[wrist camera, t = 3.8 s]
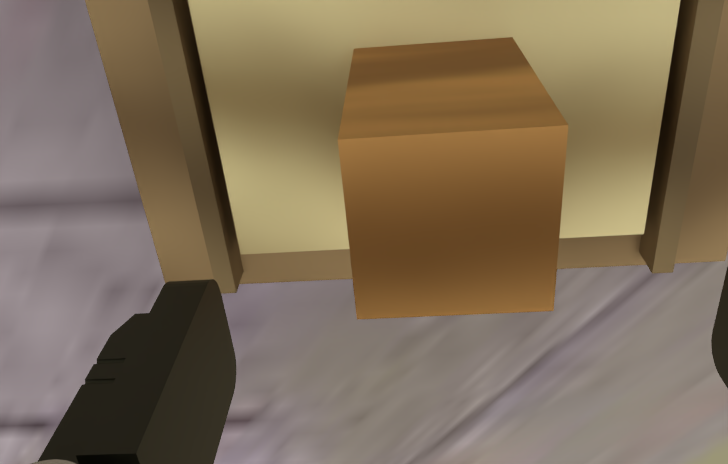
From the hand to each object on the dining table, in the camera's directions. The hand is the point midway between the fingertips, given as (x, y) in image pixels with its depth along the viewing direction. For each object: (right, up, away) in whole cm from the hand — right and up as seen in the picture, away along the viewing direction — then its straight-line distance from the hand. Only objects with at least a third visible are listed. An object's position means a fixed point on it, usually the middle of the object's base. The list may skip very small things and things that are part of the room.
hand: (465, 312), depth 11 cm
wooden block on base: (0, +5, +8) cm, 9 cm away
